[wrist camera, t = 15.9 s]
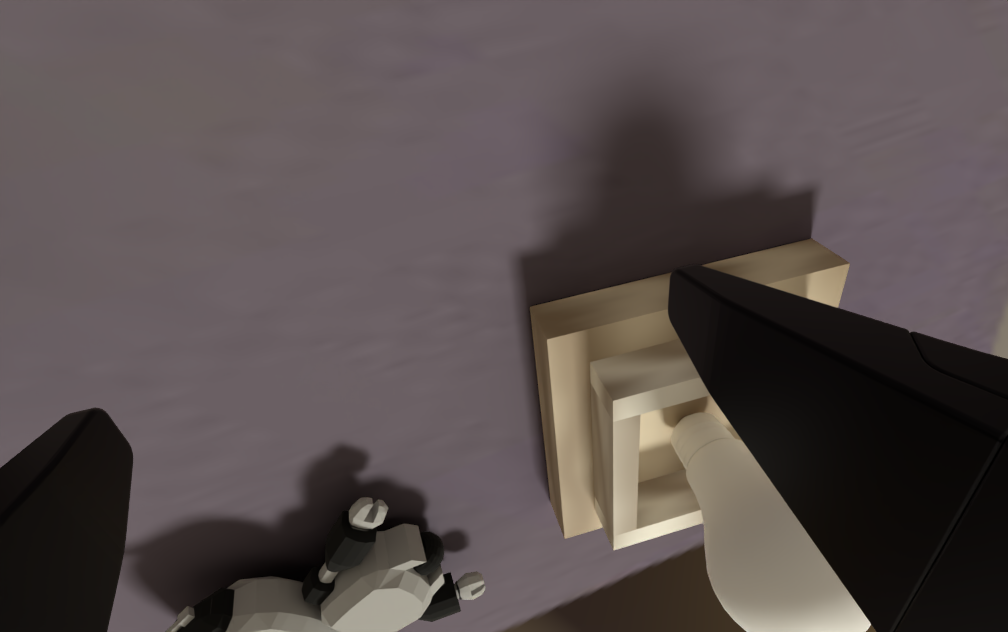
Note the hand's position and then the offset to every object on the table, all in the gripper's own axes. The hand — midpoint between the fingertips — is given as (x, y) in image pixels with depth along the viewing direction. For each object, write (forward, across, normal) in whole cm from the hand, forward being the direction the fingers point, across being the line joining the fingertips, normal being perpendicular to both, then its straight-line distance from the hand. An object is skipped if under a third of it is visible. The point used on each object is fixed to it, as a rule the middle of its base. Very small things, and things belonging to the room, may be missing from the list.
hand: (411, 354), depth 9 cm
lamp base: (+13, -12, +16) cm, 24 cm away
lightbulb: (+11, -12, +16) cm, 23 cm away
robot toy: (+13, +8, +24) cm, 29 cm away
